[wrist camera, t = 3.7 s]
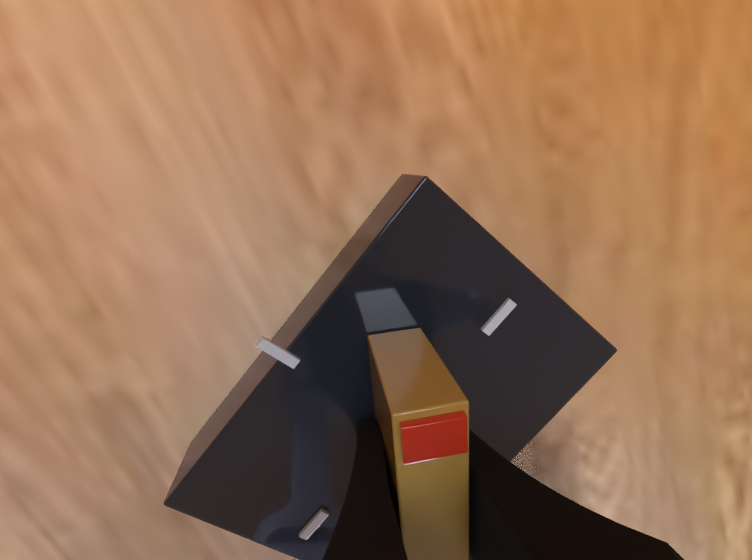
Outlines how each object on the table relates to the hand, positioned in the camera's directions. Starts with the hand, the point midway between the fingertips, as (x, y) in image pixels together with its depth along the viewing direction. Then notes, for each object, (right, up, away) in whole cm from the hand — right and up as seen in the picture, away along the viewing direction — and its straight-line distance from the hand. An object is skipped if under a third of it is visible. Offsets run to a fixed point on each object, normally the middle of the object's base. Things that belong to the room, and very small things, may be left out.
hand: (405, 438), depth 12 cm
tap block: (-1, +1, +3) cm, 4 cm away
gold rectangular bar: (0, 0, +1) cm, 1 cm away
